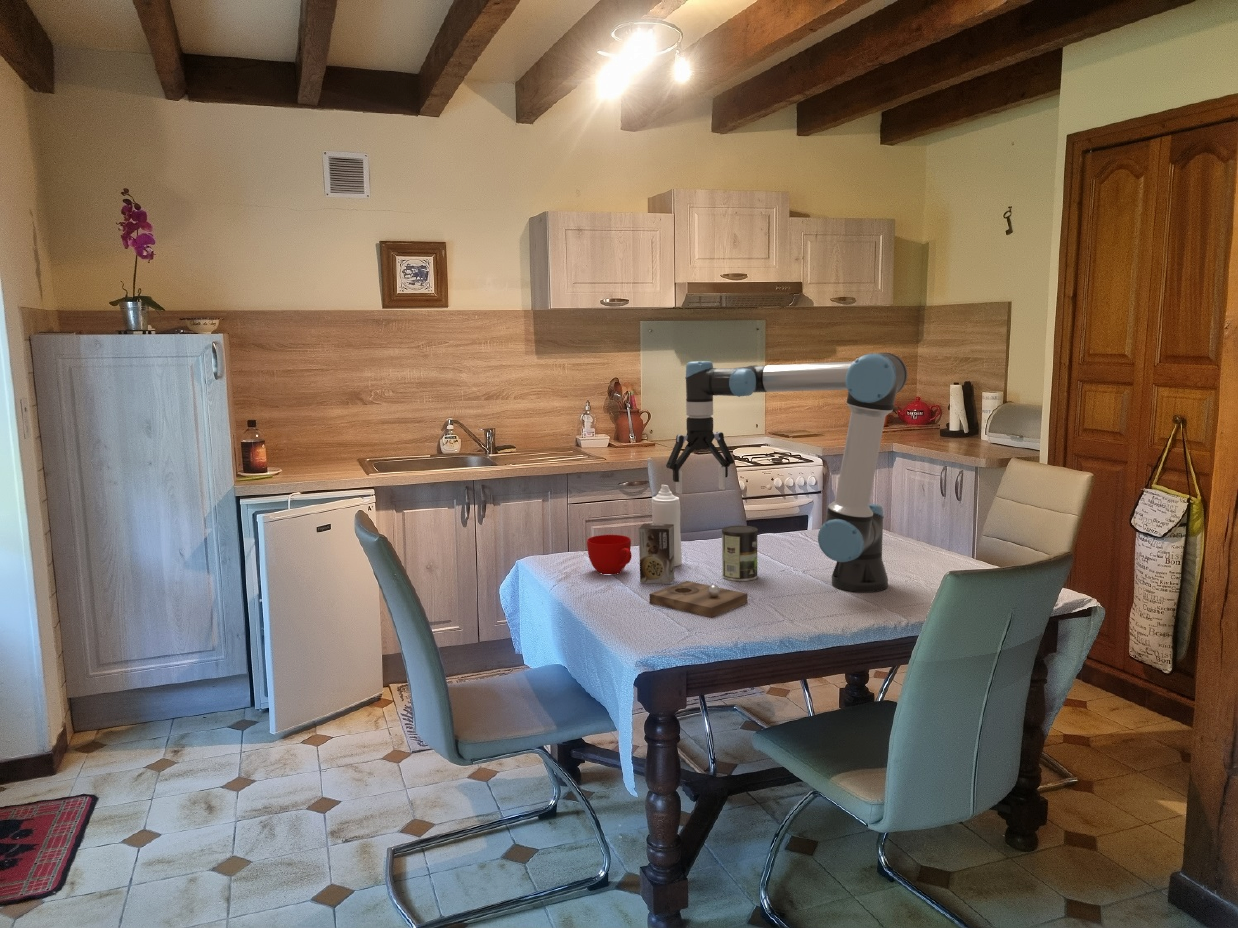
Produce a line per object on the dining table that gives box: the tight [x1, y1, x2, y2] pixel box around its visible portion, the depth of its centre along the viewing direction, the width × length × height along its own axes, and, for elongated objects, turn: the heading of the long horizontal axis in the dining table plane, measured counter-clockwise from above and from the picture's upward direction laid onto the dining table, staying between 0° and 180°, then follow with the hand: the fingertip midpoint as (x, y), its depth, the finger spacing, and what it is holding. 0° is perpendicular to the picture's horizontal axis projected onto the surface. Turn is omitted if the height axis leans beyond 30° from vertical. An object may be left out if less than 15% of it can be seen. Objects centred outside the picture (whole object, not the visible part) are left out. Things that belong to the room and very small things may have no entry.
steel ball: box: [708, 584, 721, 597], centre depth 243 cm, size 3×3×3 cm
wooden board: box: [649, 580, 748, 618], centre depth 246 cm, size 20×16×2 cm
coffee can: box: [721, 525, 759, 582], centre depth 270 cm, size 10×10×14 cm
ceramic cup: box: [586, 534, 633, 575], centre depth 276 cm, size 13×17×10 cm
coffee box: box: [638, 522, 676, 585], centre depth 267 cm, size 9×6×16 cm
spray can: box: [650, 484, 683, 567], centre depth 284 cm, size 12×11×25 cm
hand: (700, 491), depth 267 cm, fingers open, 13 cm apart
